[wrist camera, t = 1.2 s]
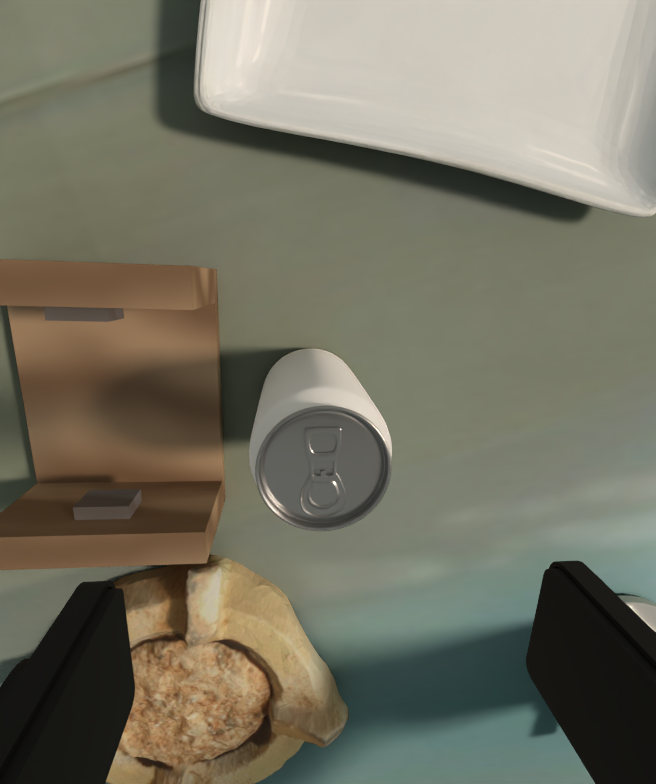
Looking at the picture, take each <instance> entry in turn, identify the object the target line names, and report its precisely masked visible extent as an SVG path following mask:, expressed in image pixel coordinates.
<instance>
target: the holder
mask: <svg viewBox="0 0 656 784" xmlns="http://www.w3.org/2000/svg"><path fill="white" fill-rule="evenodd" d="M0 305H7V308H8V314H9V320H10V326H11V332H12V338H13V344H14V350H15V356H16V361H17V367H18V373H19V379H20V385H21V391H22V397H23V403H24V409H25V414H26V420H27V426H28V432H29V438H30V444H31V450H32V456H33V462H34V467H35V473H36V479H37V484H36V485H35V486H33V487H32V488H31V489H30V490H28V491H27V492H26V493H25V494H23V495H22V496H21V497H20V498H18V499H17V500H16V501H15V502H14V503H12V504H11V505H10V506H9V507H7V508H6V509H5V510H4V511H2V512H1V513H0V570H19V569H49V568H80V567H110V566H141V565H171V564H202V563H207V560H208V557H209V553H210V550H211V547H212V543H213V540H214V536H215V533H216V529H217V526H218V523H219V519H220V516H221V512H222V509H223V505H224V502H225V479H224V452H223V426H222V400H221V374H220V347H219V321H218V295H217V270H216V269H209V268H202V267H195V266H178V265H150V264H121V263H92V262H63V261H35V260H6V259H0Z"/></svg>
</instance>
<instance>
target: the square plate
mask: <svg viewBox="0 0 656 784" xmlns="http://www.w3.org/2000/svg"><path fill="white" fill-rule="evenodd" d="M194 99H195V102H196V105H197V107H198V108H199V109H200V110H201V111H203V112H205V113H207V114H210V115H213V116H216V117H220V118H223V119H227V120H230V121H234V122H238V123H243V124H247V125H251V126H255V127H260V128H265V129H270V130H275V131H280V132H286V133H291V134H296V135H301V136H307V137H313V138H319V139H324V140H330V141H335V142H340V143H345V144H350V145H355V146H361V147H366V148H371V149H375V150H380V151H385V152H390V153H395V154H400V155H405V156H409V157H414V158H418V159H422V160H427V161H431V162H435V163H439V164H444V165H448V166H452V167H456V168H460V169H464V170H468V171H472V172H476V173H479V174H483V175H487V176H490V177H494V178H497V179H501V180H505V181H508V182H512V183H515V184H519V185H522V186H525V187H529V188H532V189H535V190H539V191H542V192H545V193H549V194H552V195H556V196H559V197H562V198H566V199H569V200H572V201H576V202H579V203H582V204H586V205H589V206H592V207H596V208H599V209H603V210H607V211H611V212H615V213H619V214H623V215H628V216H633V217H648V216H652V215H654V214H655V213H656V0H201V4H200V14H199V24H198V34H197V45H196V58H195V72H194Z"/></svg>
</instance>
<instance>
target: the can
mask: <svg viewBox="0 0 656 784" xmlns="http://www.w3.org/2000/svg"><path fill="white" fill-rule="evenodd" d="M391 457H392V445H391V438H390V434H389V431H388V428H387V426H386V423H385V421H384V419H383V417H382V416H381V414H380V412H379V411H378V409H377V408H376V406H375V405H374V403H373V402H372V400H371V399H370V397H369V396H368V394H367V393H366V391H365V390H364V388H363V387H362V385H361V384H360V382H359V381H358V380H357V378H356V377H355V375H354V374H353V372H352V371H351V370H350V368H349V367H348V366H347V365H346V364H345V363H344V362H343V361H342V360H341V359H340V358H338V357H337V356H335V355H334V354H332V353H330V352H327V351H324V350H320V349H301V350H297V351H294V352H291V353H289V354H287V355H285V356H284V357H282V358H281V359H280V360H279V361H277V362H276V363H275V364H274V366H273V367H272V368H271V370H270V371H269V373H268V375H267V377H266V379H265V382H264V385H263V389H262V392H261V396H260V400H259V404H258V408H257V413H256V417H255V421H254V425H253V430H252V434H251V439H250V446H249V462H250V468H251V472H252V475H253V478H254V480H255V483H256V484H257V487H258V490H259V493H260V495H261V497H262V499H263V501H264V502H265V504H266V505H267V506H268V508H269V509H270V510H271V511H272V512H273V513H274V514H275V515H276V516H277V517H279V518H280V519H282V520H283V521H285V522H286V523H288V524H290V525H293V526H295V527H298V528H301V529H305V530H311V531H331V530H336V529H340V528H344V527H347V526H349V525H351V524H354V523H356V522H357V521H359V520H361V519H362V518H364V517H365V516H366V515H368V514H369V513H370V512H371V511H372V510H373V509H374V508H375V507H376V506H377V504H378V503H379V502H380V500H381V499H382V497H383V496H384V494H385V492H386V490H387V487H388V484H389V481H390V476H391Z"/></svg>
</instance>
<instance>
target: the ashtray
mask: <svg viewBox="0 0 656 784" xmlns="http://www.w3.org/2000/svg"><path fill="white" fill-rule="evenodd" d="M113 583H114V584H115V588H122V590H123V593H124V600H125V608H126V616H127V624H128V632H129V640H130V648H131V657H132V665H133V673H134V681H135V696H134V701H133V706H132V709H131V712H130V715H129V717H128V720H127V723H126V726H125V729H124V732H123V734H122V737H121V740H120V743H119V746H118V749H117V751H116V754H115V757H114V760H113V763H112V766H111V768H110V771H109V774H108V777H107V780H106V782H107V783H109V784H254V783H257V782H259V781H261V780H263V779H265V778H266V777H268V776H269V775H272V774H273V773H274V772H275V771H277V770H279V769H280V768H281V767H282V766H283V764H284V763H285V762H286V761H287V760H288V759H289V758H291V757H292V756H293V755H294V754H295V753H296V752H298V750H299V749H300V747H301V746H302V744H303V743H304V742H305V741H306V742H308V743H314V744H316V745H318V746H319V747H326V746H327V745H329V744H330V743H331V742H332V741H334V740H335V739H336V738H337V737H338V736H339V734H340V733H341V732H342V730H343V729H344V727H345V724H346V721H347V720H348V719H349V713H348V707H347V706H346V705H345V703H344V701H343V700H342V698H341V697H340V695H339V693H338V689H337V686H336V682H335V679H334V677H333V675H332V674H331V672H330V670H329V668H328V666H327V664H326V663H325V662H324V661H323V660H322V659H321V658H320V656H319V655H318V654H317V652H316V651H315V649H314V648H313V646H312V645H311V643H310V641H309V640H308V638H307V636H306V634H305V632H304V631H303V629H302V627H301V625H300V623H299V621H298V619H297V617H296V615H295V613H294V611H293V609H292V606H291V604H290V602H289V600H288V598H287V597H286V596H285V594H284V593H283V592H282V591H281V590H280V589H279V588H278V587H277V586H275V585H274V584H272V583H271V582H269V581H268V580H266V579H264V578H262V577H261V576H259V575H257V574H255V573H253V572H252V571H250V570H248V569H247V568H245V567H244V566H242V565H241V564H238V563H236V562H234V561H231V560H229V559H227V558H224V557H220V556H215V555H209V557H208V560H207V563H202V564H171V565H168V566H166V567H161V568H156V569H151V570H146V571H142V572H138V573H135V574H131V575H127V576H124V577H122V578H120V579H118V580H116V581H115V582H113Z"/></svg>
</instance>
